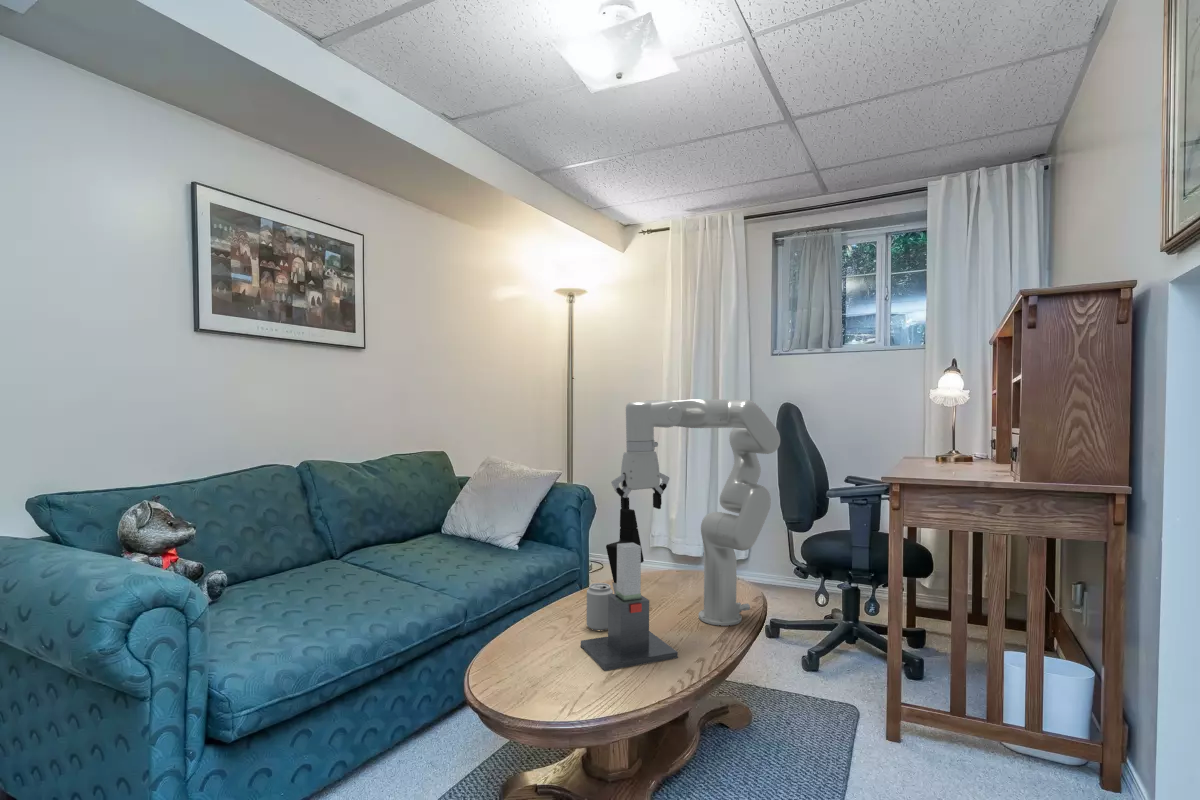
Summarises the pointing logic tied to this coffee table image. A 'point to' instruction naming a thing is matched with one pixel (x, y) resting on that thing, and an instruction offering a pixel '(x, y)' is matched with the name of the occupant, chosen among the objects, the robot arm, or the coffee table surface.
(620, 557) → the column
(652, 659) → the stand housing
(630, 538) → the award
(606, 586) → the can
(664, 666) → the coffee table surface
